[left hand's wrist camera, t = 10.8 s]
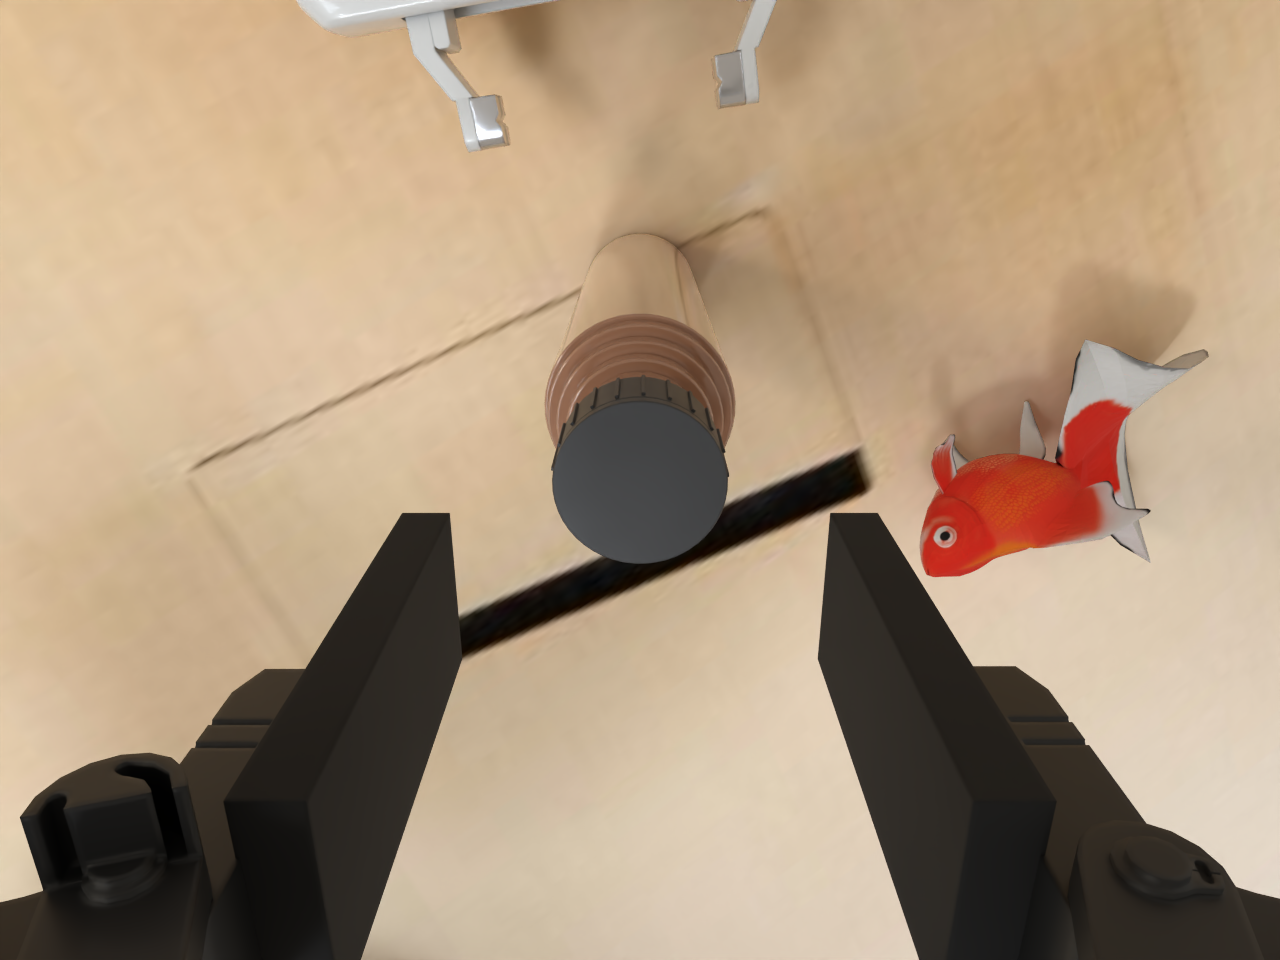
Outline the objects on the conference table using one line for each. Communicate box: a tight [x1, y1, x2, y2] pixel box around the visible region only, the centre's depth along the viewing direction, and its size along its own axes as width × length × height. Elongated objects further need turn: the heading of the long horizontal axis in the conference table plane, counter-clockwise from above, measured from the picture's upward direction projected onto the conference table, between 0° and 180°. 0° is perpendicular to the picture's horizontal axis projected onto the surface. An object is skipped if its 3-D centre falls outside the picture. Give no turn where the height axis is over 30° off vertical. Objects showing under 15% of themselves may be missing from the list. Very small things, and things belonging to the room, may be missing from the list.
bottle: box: [545, 234, 735, 448], centre depth 31 cm, size 5×5×25 cm
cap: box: [551, 375, 729, 563], centre depth 20 cm, size 4×4×2 cm
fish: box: [920, 340, 1209, 577], centre depth 41 cm, size 11×16×10 cm
